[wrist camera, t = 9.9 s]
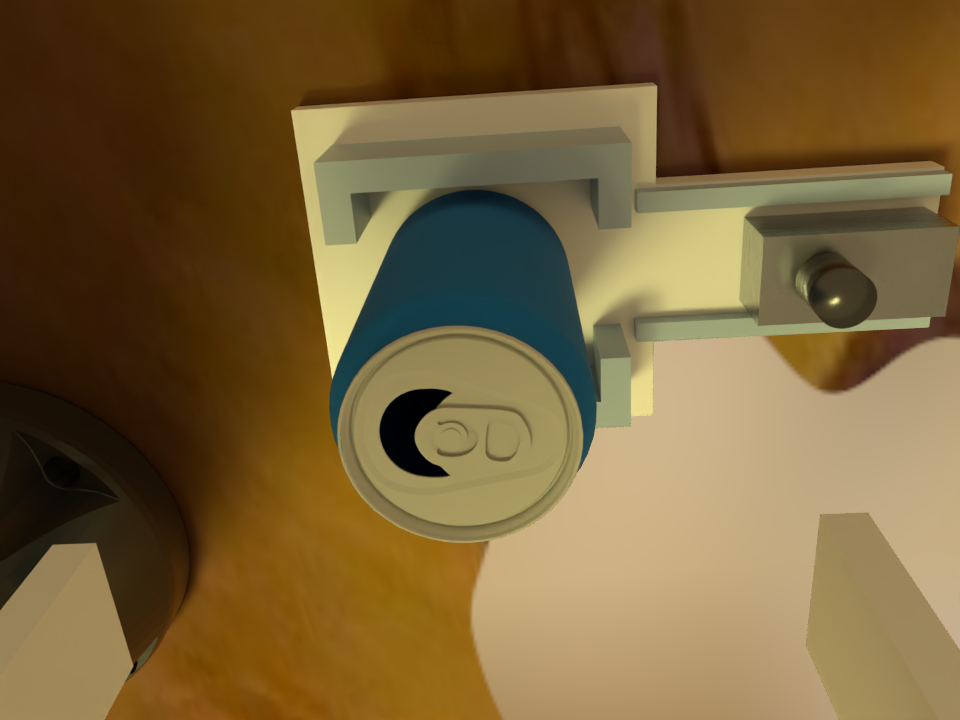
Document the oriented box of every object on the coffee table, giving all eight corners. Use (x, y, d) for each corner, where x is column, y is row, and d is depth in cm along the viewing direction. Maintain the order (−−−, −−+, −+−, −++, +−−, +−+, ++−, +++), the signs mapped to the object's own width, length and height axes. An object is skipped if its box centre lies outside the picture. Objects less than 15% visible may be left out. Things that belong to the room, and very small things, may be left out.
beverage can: (385, 179, 29) (312, 302, 18) (575, 188, 29) (616, 317, 18) (386, 353, 32) (323, 551, 21) (561, 362, 32) (588, 564, 21)
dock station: (344, 417, 34) (325, 470, 31) (297, 106, 29) (267, 125, 26) (898, 391, 33) (946, 443, 29) (945, 62, 28) (1010, 75, 24)
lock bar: (739, 299, 31) (775, 350, 26) (744, 217, 29) (782, 256, 25) (912, 290, 30) (975, 340, 26) (924, 206, 29) (992, 244, 25)
